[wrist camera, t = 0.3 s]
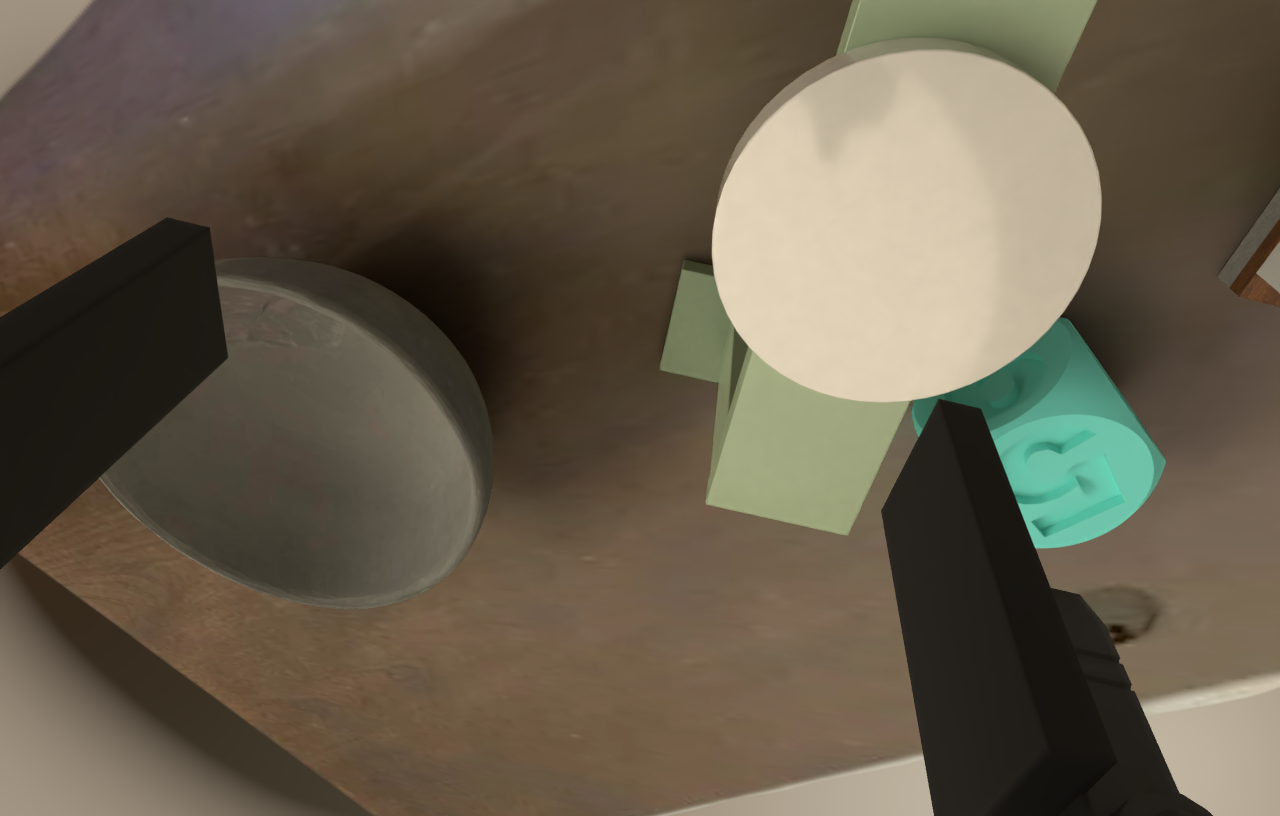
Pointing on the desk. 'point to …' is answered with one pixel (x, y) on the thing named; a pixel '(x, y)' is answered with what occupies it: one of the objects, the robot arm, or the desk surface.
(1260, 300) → the white square tower
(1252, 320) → the desk surface
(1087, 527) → the decorative dice
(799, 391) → the green bench arch
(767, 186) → the plate
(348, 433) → the bowl
